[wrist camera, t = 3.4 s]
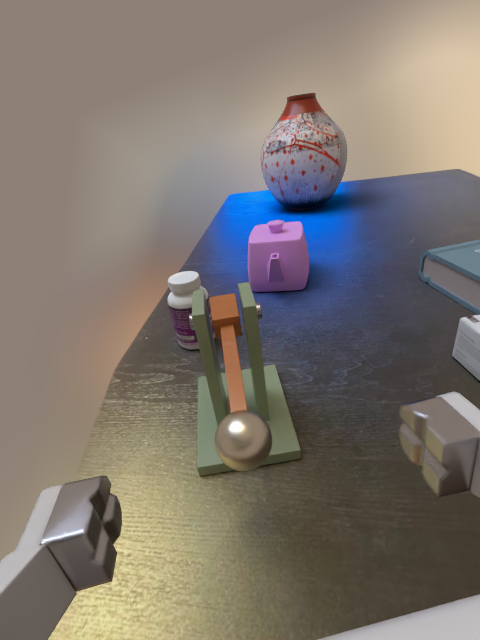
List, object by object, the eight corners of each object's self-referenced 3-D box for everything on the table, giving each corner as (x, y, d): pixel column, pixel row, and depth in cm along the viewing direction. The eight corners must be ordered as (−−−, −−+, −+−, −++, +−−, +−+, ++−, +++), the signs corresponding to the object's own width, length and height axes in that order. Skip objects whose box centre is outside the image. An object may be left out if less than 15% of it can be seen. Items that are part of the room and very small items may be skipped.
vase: (281, 197, 117) (274, 99, 102) (352, 195, 106) (356, 86, 92) (253, 217, 99) (240, 103, 85) (335, 217, 89) (337, 88, 75)
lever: (278, 474, 22) (277, 450, 19) (221, 484, 22) (212, 461, 19) (246, 316, 32) (242, 286, 29) (207, 322, 31) (199, 293, 29)
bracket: (301, 458, 30) (293, 326, 23) (199, 476, 30) (160, 348, 23) (275, 372, 41) (264, 262, 34) (199, 384, 40) (172, 277, 33)
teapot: (310, 302, 54) (308, 238, 48) (243, 304, 56) (235, 243, 50) (308, 258, 69) (307, 205, 63) (256, 261, 71) (250, 210, 65)
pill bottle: (208, 352, 46) (194, 286, 41) (172, 350, 47) (154, 286, 42) (221, 329, 50) (209, 268, 45) (187, 328, 52) (172, 268, 47)
